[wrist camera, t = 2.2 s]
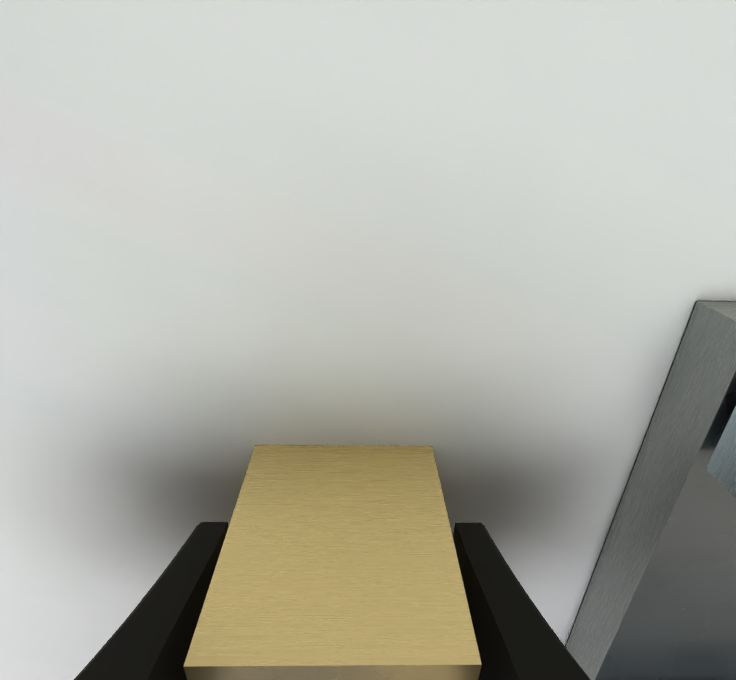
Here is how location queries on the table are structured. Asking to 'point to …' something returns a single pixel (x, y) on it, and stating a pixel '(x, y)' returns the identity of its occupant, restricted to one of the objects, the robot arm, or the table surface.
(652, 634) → the vise
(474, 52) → the table surface
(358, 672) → the brass block
